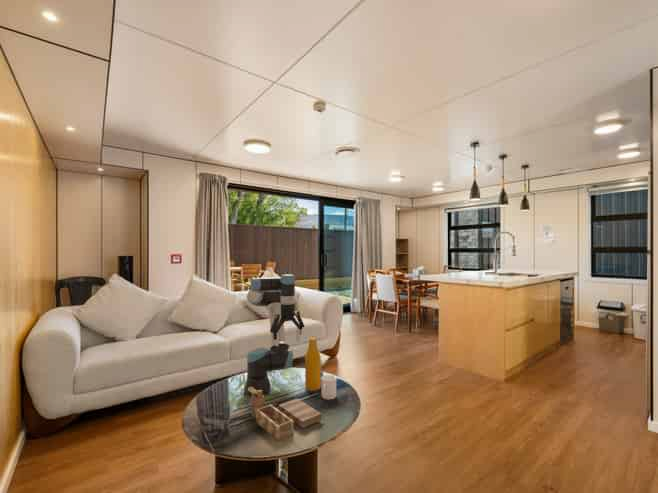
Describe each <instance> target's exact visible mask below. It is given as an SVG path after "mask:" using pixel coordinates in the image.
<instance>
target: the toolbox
mask: <svg viewBox="0 0 658 493" xmlns="http://www.w3.org/2000/svg"><path fill="white" fill-rule="evenodd" d="M261 393H262V397H259V398H258V397H256V396H255V393H254V392H252V396H251V416H252V417H253V418H254V419H255V423H256V424H257V425H258V426H259V427H261V428H262V429H263V430H264V431H265V432H266V433H267V434H268V435H269V436H271V437H272V438H274V440H275V441H276V442H280V441H281V440H284V439H287V438H288V437H291V436H294V426H293V420H292V419H290V418H289V417H288V416H286V415H285V414H284V413H282V412H281V411H279V408H276V407H275V405H272V404H268V405H266V404H265V403H266V401H265V400H266V396H265V394H263V391H262V390H261Z"/></svg>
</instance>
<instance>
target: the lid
mask: <svg viewBox="0 0 658 493" xmlns="http://www.w3.org/2000/svg"><path fill="white" fill-rule="evenodd" d="M278 410H279V411H281V412H282V413H284V414H285V415H286V416H288V417H289V418H290V419H292V420H293V422H294V423H296V424H297V425H299V426H300V427H301V428H304V427H306V426H309V425H311V424H313V423H316V422H318V421H323V420H322V417H323V416H322V413H321V412H320V411H319V410H317V409H315V408H314V407H311V406H310V405H309V404H307V403H305V402H304V401H302V400H300V399H299V398H295V399H291V400H289V401H286V402H283V403H280V404H278Z"/></svg>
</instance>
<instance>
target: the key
mask: <svg viewBox="0 0 658 493" xmlns="http://www.w3.org/2000/svg"><path fill="white" fill-rule="evenodd" d="M248 391H250V392H251V393H252V392H254V393H255V396H256V397H258V398H259V397H262V393H261V390H256V389H255V388H253V387H252V386H251V387H248Z"/></svg>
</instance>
